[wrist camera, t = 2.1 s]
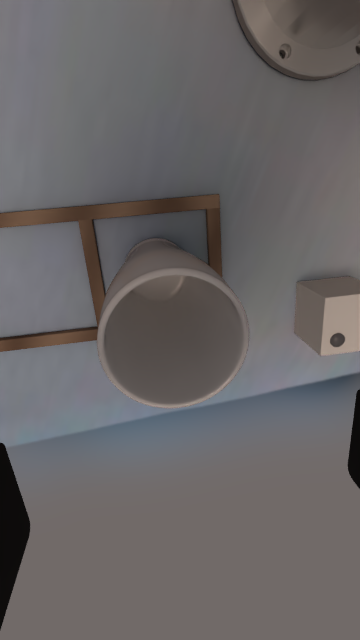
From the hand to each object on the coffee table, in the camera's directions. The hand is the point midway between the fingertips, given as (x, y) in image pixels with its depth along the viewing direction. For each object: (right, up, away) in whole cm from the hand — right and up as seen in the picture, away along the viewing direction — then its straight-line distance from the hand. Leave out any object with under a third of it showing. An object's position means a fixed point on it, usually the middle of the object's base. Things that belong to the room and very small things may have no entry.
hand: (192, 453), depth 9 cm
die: (+13, +5, +23) cm, 26 cm away
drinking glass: (-2, +8, +20) cm, 21 cm away
